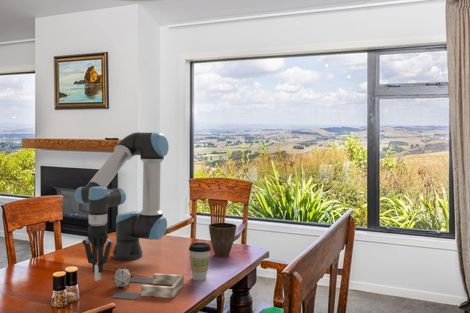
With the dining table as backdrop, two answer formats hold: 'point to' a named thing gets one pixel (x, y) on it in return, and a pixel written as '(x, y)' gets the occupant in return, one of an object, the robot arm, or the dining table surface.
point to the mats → (132, 295)
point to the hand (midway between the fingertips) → (97, 279)
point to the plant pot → (222, 237)
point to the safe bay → (163, 290)
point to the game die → (122, 277)
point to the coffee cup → (199, 260)
